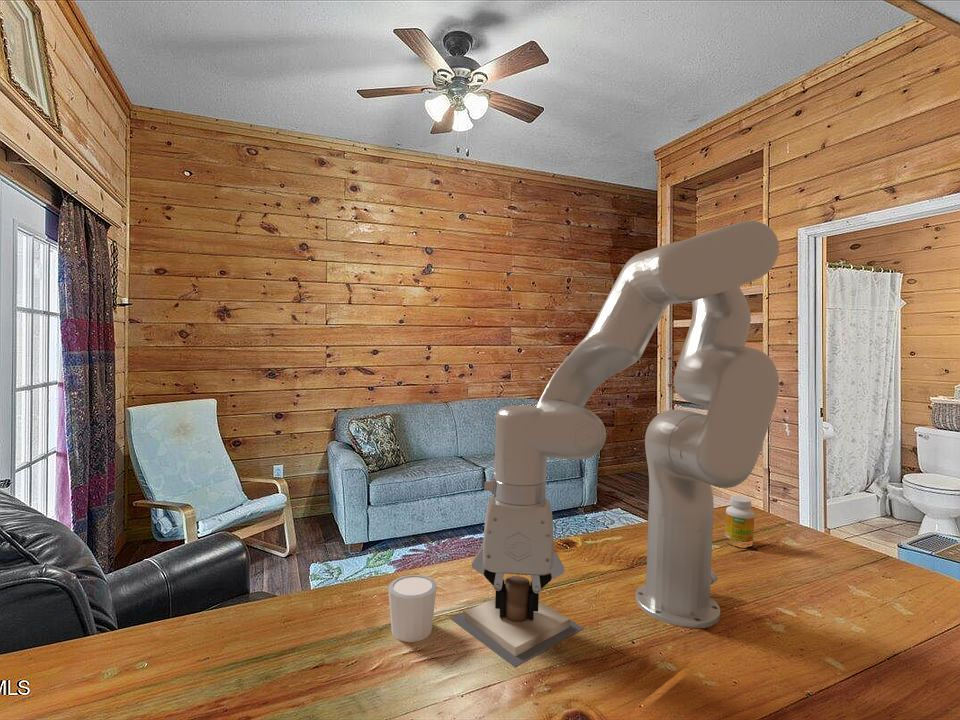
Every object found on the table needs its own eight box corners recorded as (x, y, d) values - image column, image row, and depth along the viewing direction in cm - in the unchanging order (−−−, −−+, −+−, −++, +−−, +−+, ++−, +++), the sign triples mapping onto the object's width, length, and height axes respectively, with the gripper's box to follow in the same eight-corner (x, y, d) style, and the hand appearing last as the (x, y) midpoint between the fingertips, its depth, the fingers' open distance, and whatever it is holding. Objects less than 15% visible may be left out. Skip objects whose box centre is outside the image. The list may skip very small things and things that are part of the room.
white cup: (427, 651, 67) (428, 600, 67) (379, 644, 68) (380, 594, 68) (441, 623, 74) (442, 576, 73) (397, 617, 75) (398, 571, 75)
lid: (517, 596, 81) (518, 558, 81) (569, 627, 72) (570, 585, 72) (464, 619, 74) (464, 578, 74) (515, 656, 65) (516, 610, 65)
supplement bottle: (729, 547, 103) (731, 501, 103) (721, 537, 109) (722, 493, 108) (757, 550, 102) (759, 503, 102) (747, 539, 108) (749, 495, 107)
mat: (517, 592, 83) (517, 589, 83) (584, 631, 72) (584, 628, 72) (449, 621, 74) (449, 618, 74) (514, 670, 63) (515, 666, 63)
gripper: (459, 496, 69) (457, 624, 70) (580, 502, 68) (576, 633, 69) (466, 481, 77) (463, 597, 78) (574, 486, 75) (571, 604, 76)
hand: (516, 612), depth 73 cm, fingers closed on lid, 3 cm apart
